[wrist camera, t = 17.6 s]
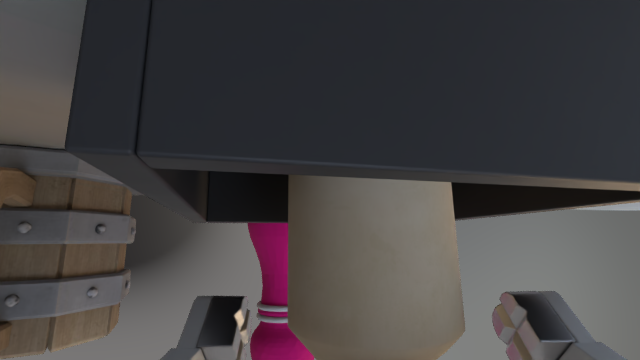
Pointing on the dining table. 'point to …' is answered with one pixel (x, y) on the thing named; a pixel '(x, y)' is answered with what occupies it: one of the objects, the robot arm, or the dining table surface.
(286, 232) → the pepper mill
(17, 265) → the tankard
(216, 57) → the box
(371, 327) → the candle
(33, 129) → the dining table surface
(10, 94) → the dining table surface
